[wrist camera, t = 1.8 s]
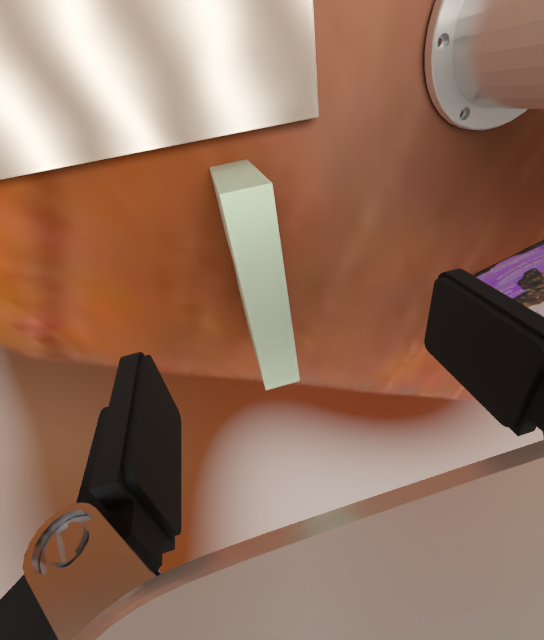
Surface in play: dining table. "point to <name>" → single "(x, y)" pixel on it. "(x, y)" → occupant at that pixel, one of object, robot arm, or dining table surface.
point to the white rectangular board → (146, 75)
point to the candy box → (520, 277)
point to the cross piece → (258, 266)
